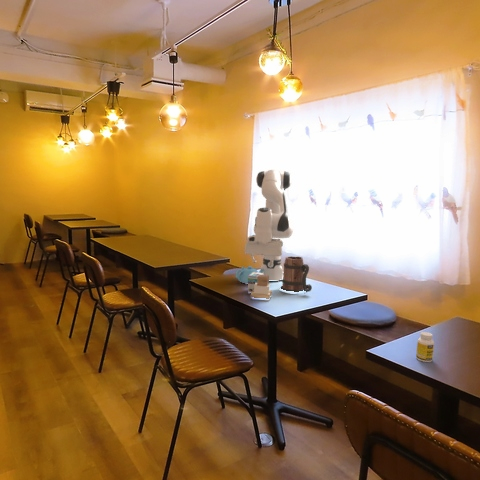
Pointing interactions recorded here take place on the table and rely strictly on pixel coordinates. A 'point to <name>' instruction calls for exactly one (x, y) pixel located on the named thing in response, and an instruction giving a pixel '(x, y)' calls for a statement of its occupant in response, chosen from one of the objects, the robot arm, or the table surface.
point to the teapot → (246, 273)
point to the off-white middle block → (261, 289)
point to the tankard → (295, 275)
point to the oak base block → (261, 295)
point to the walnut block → (262, 280)
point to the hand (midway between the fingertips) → (263, 263)
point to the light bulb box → (252, 280)
